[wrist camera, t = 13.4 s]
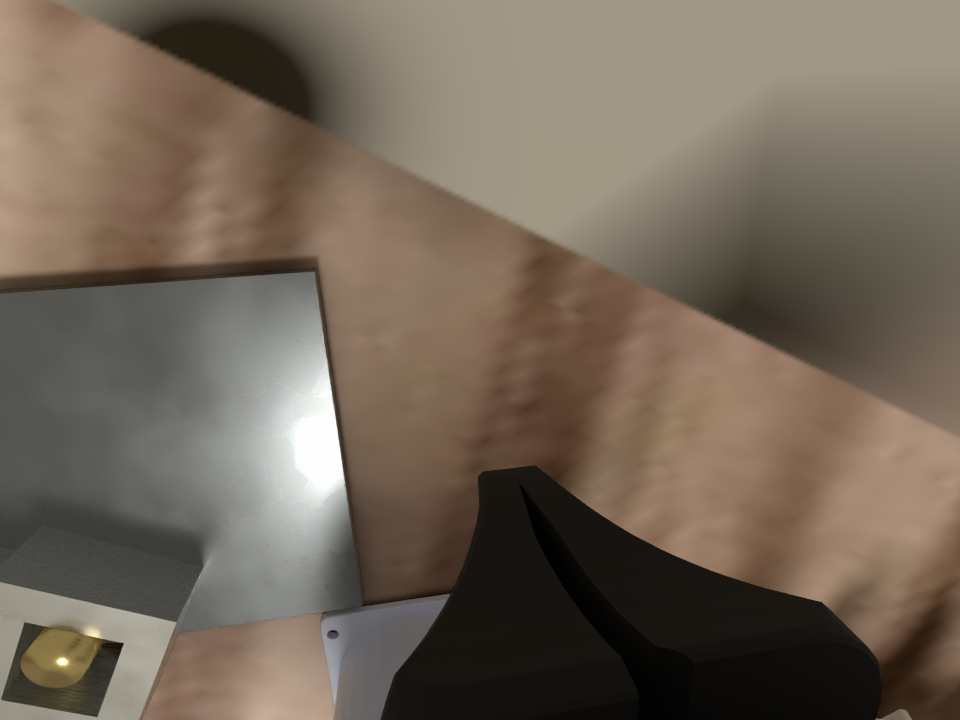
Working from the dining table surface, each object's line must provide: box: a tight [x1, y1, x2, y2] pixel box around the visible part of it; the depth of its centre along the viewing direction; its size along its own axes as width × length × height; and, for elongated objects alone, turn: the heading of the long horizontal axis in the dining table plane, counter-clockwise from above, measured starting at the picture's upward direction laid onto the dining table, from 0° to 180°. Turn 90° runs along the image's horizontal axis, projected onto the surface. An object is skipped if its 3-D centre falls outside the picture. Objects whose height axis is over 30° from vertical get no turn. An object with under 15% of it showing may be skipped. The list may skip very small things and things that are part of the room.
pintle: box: [21, 627, 106, 688], centre depth 21 cm, size 2×2×4 cm
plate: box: [0, 268, 364, 644], centre depth 21 cm, size 15×23×1 cm, turn 93°
